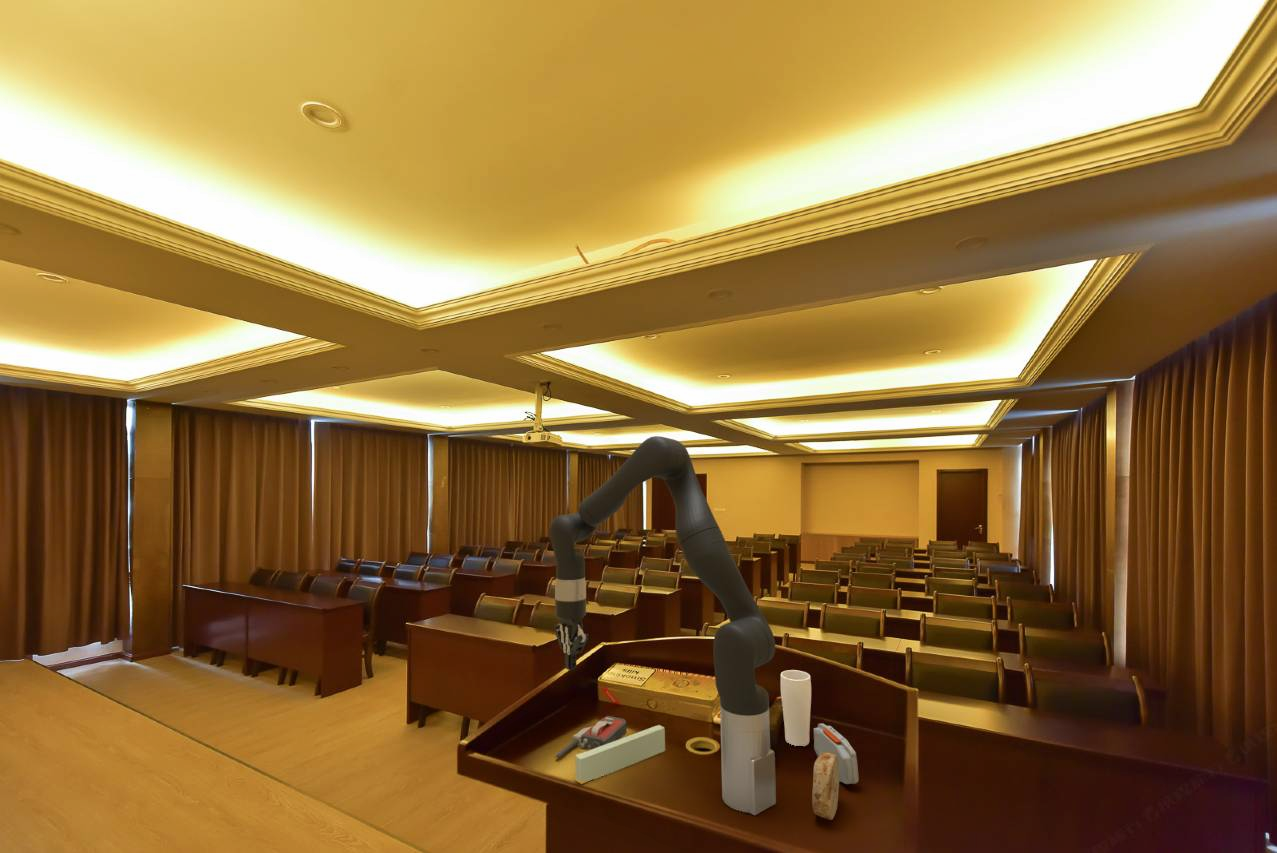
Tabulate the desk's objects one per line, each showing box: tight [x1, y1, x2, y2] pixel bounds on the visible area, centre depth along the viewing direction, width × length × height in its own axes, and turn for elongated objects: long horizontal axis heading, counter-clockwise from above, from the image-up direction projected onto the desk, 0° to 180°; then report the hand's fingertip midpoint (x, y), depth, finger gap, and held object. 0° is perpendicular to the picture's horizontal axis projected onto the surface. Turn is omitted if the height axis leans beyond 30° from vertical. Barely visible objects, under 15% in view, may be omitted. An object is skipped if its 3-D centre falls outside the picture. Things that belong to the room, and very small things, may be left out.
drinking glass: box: [780, 669, 812, 747], centre depth 133 cm, size 7×7×15 cm
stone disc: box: [811, 752, 840, 821], centre depth 106 cm, size 10×4×10 cm, turn 150°
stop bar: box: [574, 724, 666, 782], centre depth 123 cm, size 2×22×5 cm, turn 128°
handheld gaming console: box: [813, 722, 860, 785], centre depth 119 cm, size 14×3×8 cm, turn 11°
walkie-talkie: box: [555, 715, 627, 759], centre depth 133 cm, size 9×4×20 cm
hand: (570, 668), depth 141 cm, fingers closed
